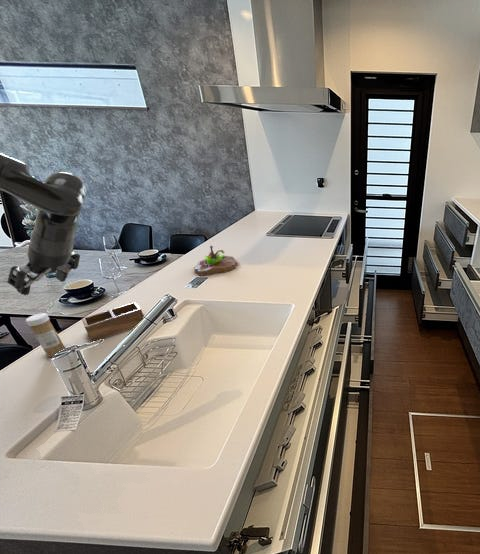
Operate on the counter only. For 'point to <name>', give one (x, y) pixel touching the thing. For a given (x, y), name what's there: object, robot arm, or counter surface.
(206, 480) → the counter surface
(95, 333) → the spice rack
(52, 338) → the sprinkles bottle
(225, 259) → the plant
